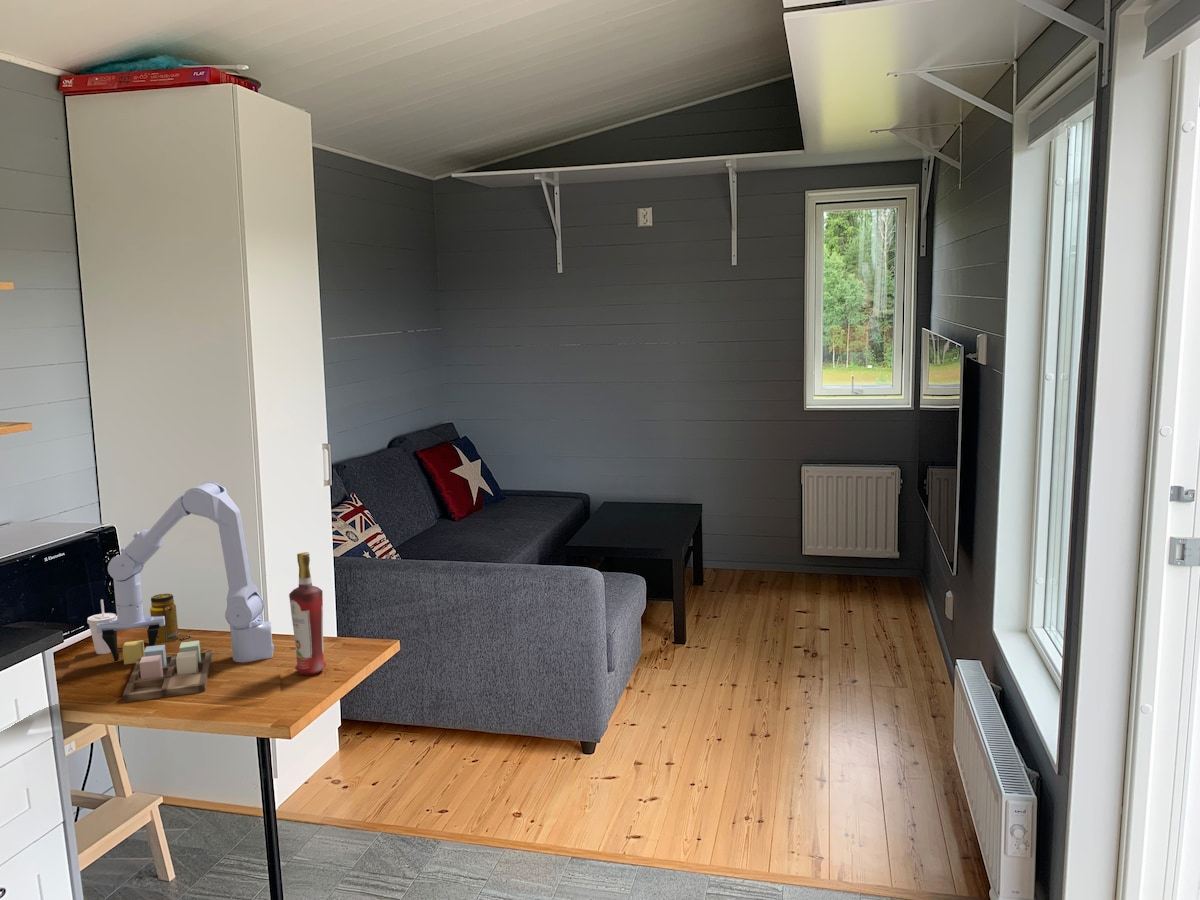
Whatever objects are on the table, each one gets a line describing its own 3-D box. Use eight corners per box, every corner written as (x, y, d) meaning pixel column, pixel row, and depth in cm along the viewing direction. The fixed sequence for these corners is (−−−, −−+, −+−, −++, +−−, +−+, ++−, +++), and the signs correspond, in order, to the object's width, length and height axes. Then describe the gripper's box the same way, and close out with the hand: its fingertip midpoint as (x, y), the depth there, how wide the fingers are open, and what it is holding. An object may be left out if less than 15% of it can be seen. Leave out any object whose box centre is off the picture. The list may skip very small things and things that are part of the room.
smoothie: (107, 659, 232) (101, 604, 230) (84, 658, 233) (78, 603, 231) (125, 650, 238) (120, 596, 236) (103, 649, 239) (97, 595, 237)
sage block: (200, 660, 227) (199, 640, 226) (199, 666, 223) (197, 645, 223) (182, 662, 226) (181, 642, 225) (181, 668, 222) (179, 647, 221)
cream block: (198, 671, 220) (196, 650, 219) (197, 677, 216) (195, 656, 216) (179, 673, 219) (177, 652, 218) (177, 679, 215) (176, 658, 214)
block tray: (212, 659, 230) (211, 650, 230) (205, 694, 208) (204, 684, 207) (138, 668, 225) (138, 659, 225) (123, 705, 203) (122, 695, 202)
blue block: (166, 664, 225) (164, 644, 224) (164, 670, 221) (163, 649, 220) (148, 667, 223) (146, 646, 223) (145, 673, 220) (144, 652, 219)
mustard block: (145, 659, 231) (143, 640, 230) (142, 665, 227) (141, 645, 227) (127, 662, 230) (125, 642, 229) (124, 667, 226) (122, 647, 225)
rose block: (163, 675, 218) (161, 654, 217) (161, 681, 214) (159, 660, 213) (143, 678, 216) (141, 657, 216) (141, 684, 213) (139, 662, 212)
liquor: (288, 673, 219) (279, 555, 216) (314, 663, 225) (306, 548, 222) (308, 679, 215) (299, 559, 211) (334, 669, 221) (326, 552, 217)
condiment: (145, 643, 243) (141, 597, 242) (173, 633, 251) (170, 589, 249) (164, 647, 240) (160, 601, 238) (192, 637, 247) (189, 592, 246)
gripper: (164, 595, 232) (169, 648, 234) (98, 601, 228) (103, 656, 230) (160, 602, 226) (165, 657, 228) (93, 610, 221) (98, 666, 223)
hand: (134, 657), depth 228 cm, fingers open, 7 cm apart
